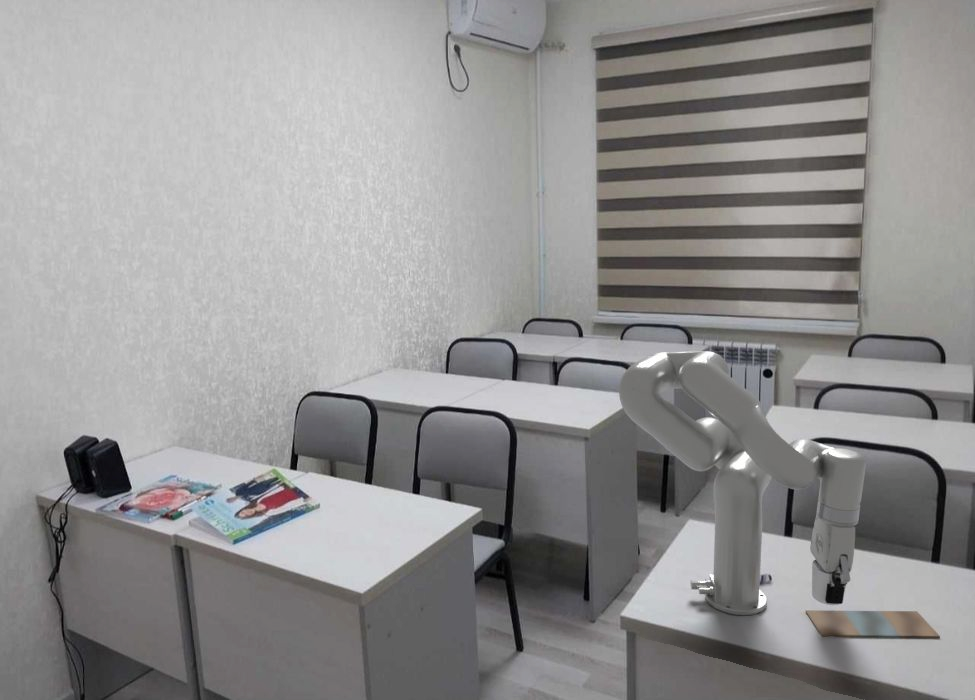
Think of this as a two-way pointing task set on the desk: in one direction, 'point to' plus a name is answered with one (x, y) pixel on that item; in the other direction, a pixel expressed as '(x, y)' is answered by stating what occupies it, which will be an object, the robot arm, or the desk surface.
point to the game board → (871, 624)
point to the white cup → (821, 582)
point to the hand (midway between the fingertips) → (827, 593)
